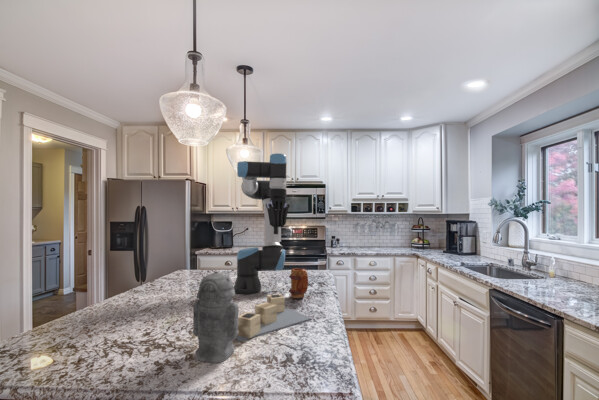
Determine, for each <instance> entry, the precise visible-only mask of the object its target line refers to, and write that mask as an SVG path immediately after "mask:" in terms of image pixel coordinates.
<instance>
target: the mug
mask: <svg viewBox="0 0 599 400" xmlns="http://www.w3.org/2000/svg"><path fill="white" fill-rule="evenodd" d="M290 272H291V273H290V275H288V277H289V278H290V289H288V292H289V294H290V297H291V298H293V299H303V298H305V294H306V293H307V290H308V287H309V278H308V277H309V275H308V272H307V270H305V269H303V268H300V267H299V268H296V267H295V268H292V269H291V270H290Z"/></svg>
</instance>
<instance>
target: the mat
mask: <svg viewBox="0 0 599 400" xmlns="http://www.w3.org/2000/svg"><path fill="white" fill-rule="evenodd" d="M308 321H312V317H310V316H307V315H305V314H303V313H300V312H298V311H297V310H294V309H291V308H288V307H286V306H284V312H277V321H275V322H272V323H269V324H267V325H264V324H261V323H260V332H259V333H257V334H256V335H254V336H253V337H251V338H248V337H244V336H239V335H237V337H236V338H235V339H234V340H237V341H238V342H243V341H246V340H249V339H253V338H257V337H259V336H262V335H268V334H269V333H272V332H276V331H279V330H282V329H286V328H289V327H292V326H296V325H300V324H302V323H305V322H308Z"/></svg>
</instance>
